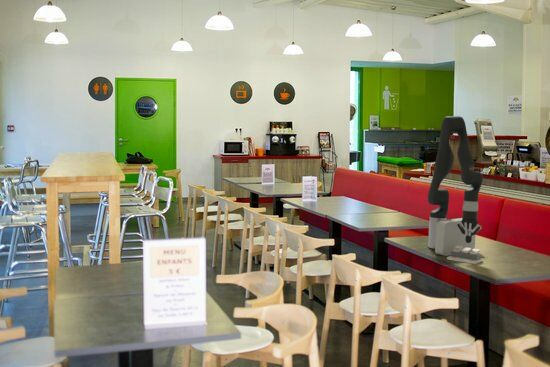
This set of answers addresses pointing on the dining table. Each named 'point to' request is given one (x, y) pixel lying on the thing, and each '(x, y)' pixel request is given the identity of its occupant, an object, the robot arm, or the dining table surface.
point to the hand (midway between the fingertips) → (468, 242)
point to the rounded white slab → (451, 237)
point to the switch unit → (465, 257)
